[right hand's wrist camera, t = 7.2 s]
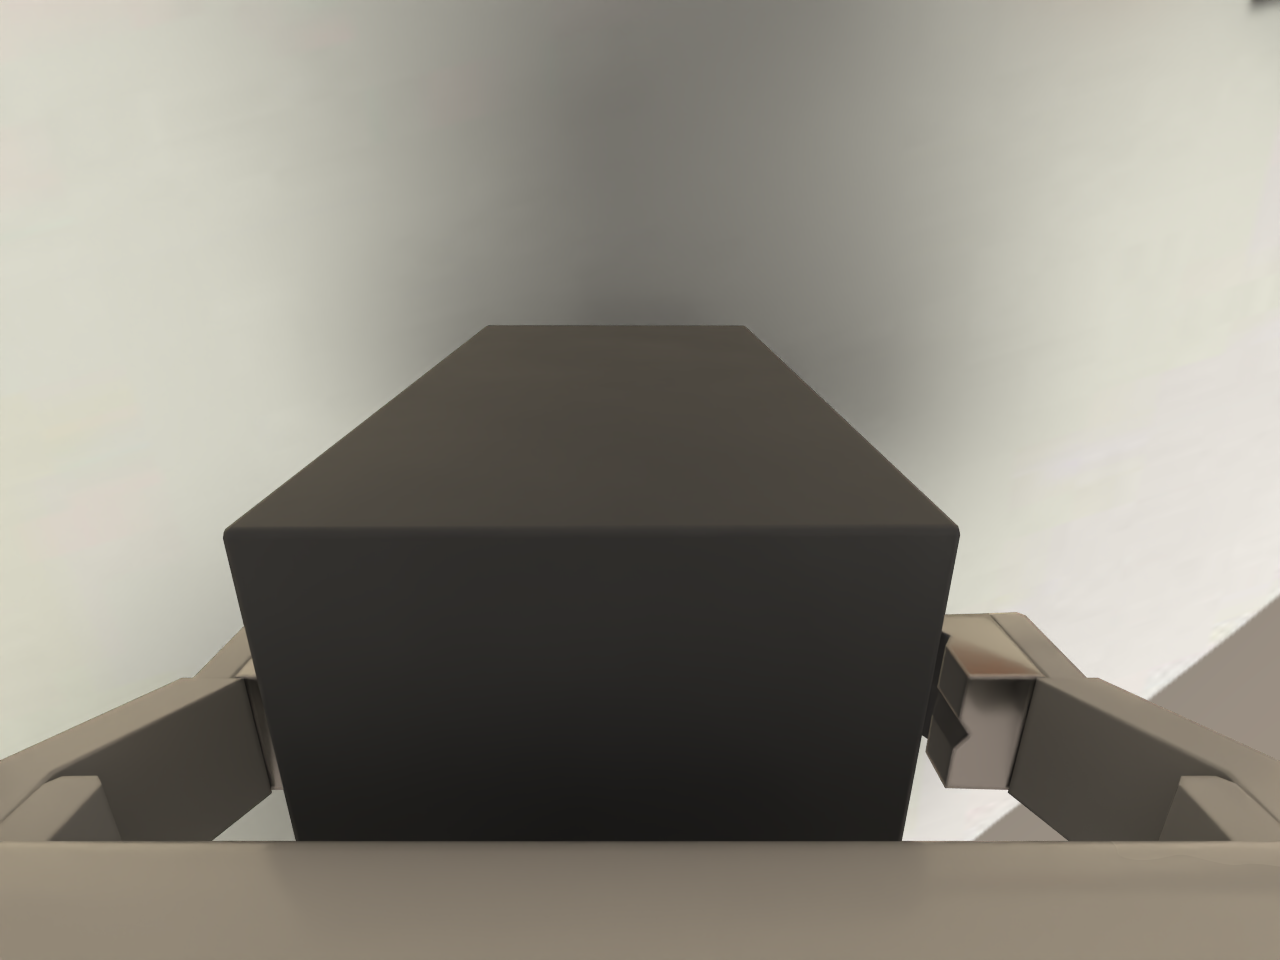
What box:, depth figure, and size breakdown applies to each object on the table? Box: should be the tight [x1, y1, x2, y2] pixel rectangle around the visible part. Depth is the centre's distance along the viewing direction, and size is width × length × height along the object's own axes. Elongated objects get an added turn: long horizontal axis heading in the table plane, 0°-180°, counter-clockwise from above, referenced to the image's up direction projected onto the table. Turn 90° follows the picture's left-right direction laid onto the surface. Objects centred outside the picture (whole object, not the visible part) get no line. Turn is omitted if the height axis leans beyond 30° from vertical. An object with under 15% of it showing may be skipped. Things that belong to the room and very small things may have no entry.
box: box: [223, 325, 960, 841], centre depth 15 cm, size 22×6×11 cm, turn 0°
